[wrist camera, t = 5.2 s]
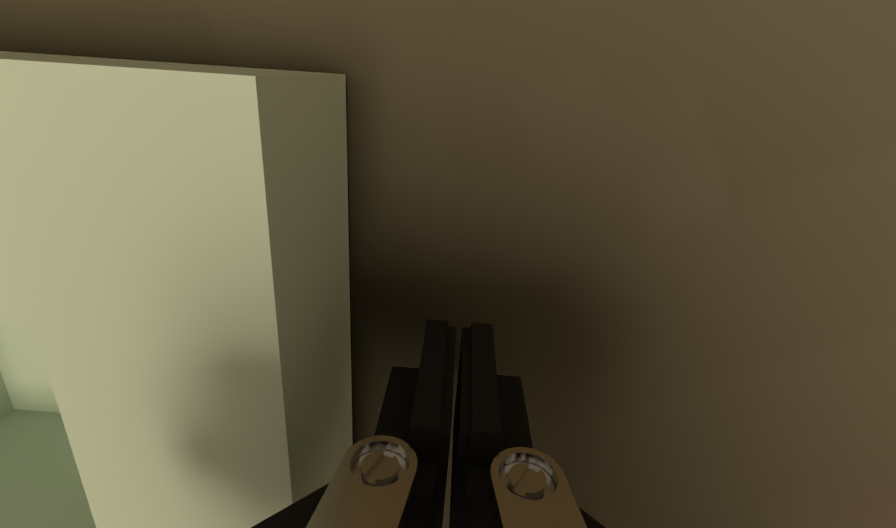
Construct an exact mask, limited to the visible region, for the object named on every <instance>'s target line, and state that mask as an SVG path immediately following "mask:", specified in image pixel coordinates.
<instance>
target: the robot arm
mask: <svg viewBox="0 0 896 528" xmlns="http://www.w3.org/2000/svg"><path fill="white" fill-rule="evenodd" d="M455 337H456V327H449V326H448V321H443V320H431V319H428V320H427V326H426V332H425V338H424V344H423V350H422V356H421V362H420V368H419V369H418V368H406V367H394V366H393V367H392V370H391V374H390V377H389V381H388V385H387V389H386V393H385V397H384V401H383V405H382V408H381V412H380V416H379V420H378V424H377V428H376V432H375V435H374V436H371V437H368V438H365V439H362V440H360V441H358V442H357V443H355V444H354V445H353V446H351V447H350V448H349V450H348V451H347V452H346V454H345V455H344V457H343V459H342V460H341V462H340V464H339V466H338V468H337V470H336V472H335V474H334V475H333V477H332V479H331V481H330V483H328V484H326V485H324V486H323V487H321V488H319V489H317V490H316V491H314V492H312V493H310V494H309V495H307V496H305V497H303V498H302V499H300V500H298V501H296V502H295V503H293V504H291V505H289V506H288V507H286V508H284V509H282V510H281V511H279V512H277V513H275V514H274V515H272V516H270V517H268V518H267V519H265V520H263V521H261V522H260V523H258V524H256V525H254V526H253V527H251V528H442V522H443V511H444V500H445V489H446V478H447V467H448V456H449V445H450V433H451V418H452V398H453V377H454V357H455ZM449 528H605V527H604V526H603V525H601V524H600V523H599V522H597V521H596V520H595V519H593V518H592V517H591V516H590V515H588V514H587V513H586V512H584V511H583V510H582V509H581V508H579V507H578V505H577V503H576V500H575V498H574V496H573V493H572V491H571V488H570V486H569V484H568V481H567V479H566V477H565V474H564V472H563V471H562V469H561V467H560V466H559V464H558V463H557V462H555V461H554V460H553V459H552V458H551V457H550V456H548V455H546V454H545V453H543V452H541V451H538V450H535V449H533V447H532V441H531V435H530V429H529V423H528V418H527V412H526V406H525V400H524V394H523V388H522V382H521V378H520V377H515V376H503V375H497V372H496V361H495V351H494V340H493V329H492V324H480V323H471V326H470V328H462V338H461V348H460V359H459V370H458V380H457V391H456V402H455V413H454V429H453V453H452V476H451V500H450V524H449Z"/></svg>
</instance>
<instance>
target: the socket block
mask: <svg viewBox="0 0 896 528" xmlns="http://www.w3.org/2000/svg"><path fill="white" fill-rule="evenodd" d="M351 446H353V437H352V385H351V333H350V282H349V230H348V178H347V126H346V74H334V73H319V72H304V71H290V70H275V69H260V68H245V67H230V66H216V65H201V64H186V63H171V62H156V61H142V60H127V59H112V58H97V57H82V56H68V55H53V54H38V53H23V52H8V51H0V528H251V527H253V526H254V525H256V524H258V523H260V522H261V521H263V520H265V519H267V518H268V517H270V516H272V515H274V514H275V513H277V512H279V511H281V510H282V509H284V508H286V507H288V506H289V505H291V504H293V503H295V502H296V501H298V500H300V499H302V498H303V497H305V496H307V495H309V494H310V493H312V492H314V491H316V490H317V489H319V488H321V487H323V486H324V485H326V484H328V483H330V481H331V479H332V477H333V475H334V474H335V472H336V470H337V468H338V466H339V464H340V462H341V460H342V459H343V457H344V455H345V454H346V452H347V451H348V450H349V448H350V447H351Z"/></svg>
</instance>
